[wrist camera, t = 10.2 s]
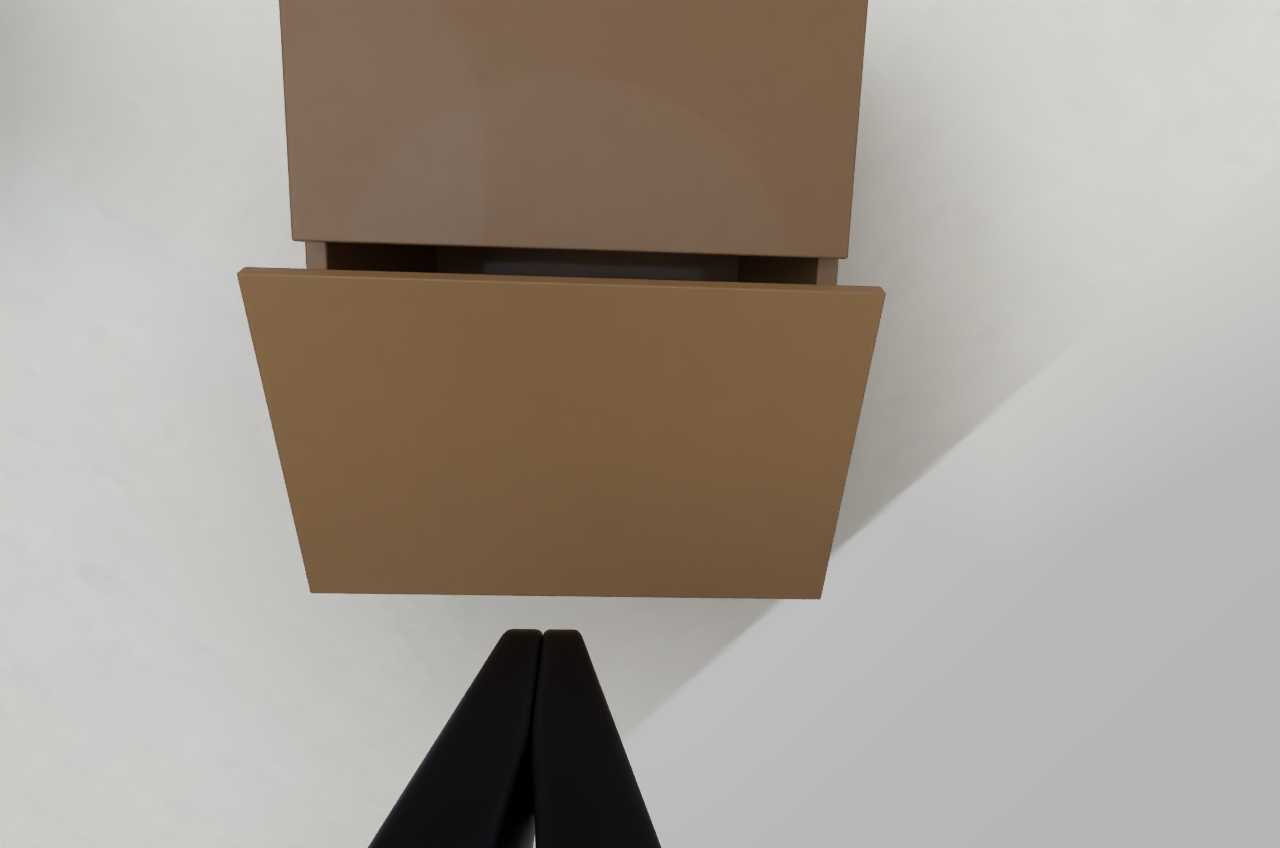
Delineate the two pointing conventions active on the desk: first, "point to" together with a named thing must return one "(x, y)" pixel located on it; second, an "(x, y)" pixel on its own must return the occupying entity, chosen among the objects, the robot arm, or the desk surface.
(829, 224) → the carton
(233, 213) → the desk surface
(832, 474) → the flap
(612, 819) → the robot arm
